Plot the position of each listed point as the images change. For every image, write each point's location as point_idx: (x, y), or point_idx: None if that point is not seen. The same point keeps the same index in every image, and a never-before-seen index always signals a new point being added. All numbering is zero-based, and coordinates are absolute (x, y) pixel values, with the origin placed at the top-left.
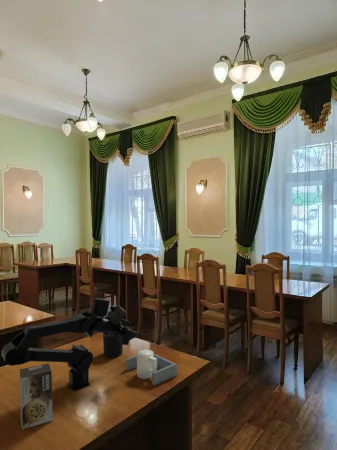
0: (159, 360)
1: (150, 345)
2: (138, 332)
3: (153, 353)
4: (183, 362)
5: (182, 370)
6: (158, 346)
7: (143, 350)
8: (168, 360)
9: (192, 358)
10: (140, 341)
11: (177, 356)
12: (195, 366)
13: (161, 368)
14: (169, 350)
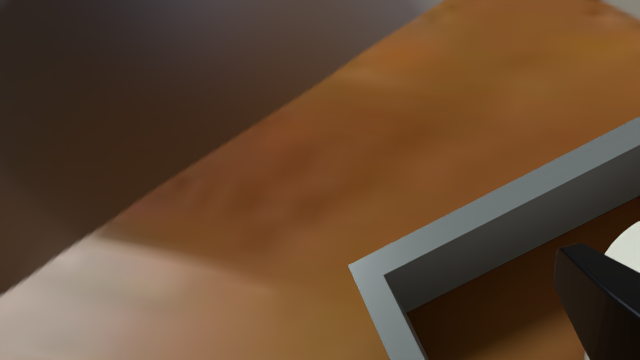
0: (549, 204)
1: (120, 239)
2: (618, 273)
3: (422, 229)
4: (479, 74)
5: (620, 90)
6: (165, 191)
7: None
8: (630, 123)
9: (433, 24)
10: (19, 297)
11: (371, 98)
12: (564, 16)
13: (574, 224)
14: (259, 134)
